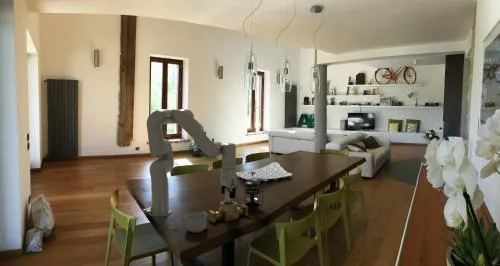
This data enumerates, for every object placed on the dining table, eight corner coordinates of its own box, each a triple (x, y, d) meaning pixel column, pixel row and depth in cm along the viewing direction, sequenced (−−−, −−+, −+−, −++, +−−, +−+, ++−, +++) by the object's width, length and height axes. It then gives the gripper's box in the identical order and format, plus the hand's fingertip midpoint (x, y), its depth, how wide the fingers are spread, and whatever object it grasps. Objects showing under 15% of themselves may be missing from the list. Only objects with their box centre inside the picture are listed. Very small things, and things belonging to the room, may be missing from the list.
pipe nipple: (227, 210, 183) (226, 189, 182) (223, 208, 187) (223, 187, 186) (233, 209, 186) (233, 188, 184) (230, 207, 189) (229, 186, 188)
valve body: (214, 223, 177) (214, 208, 176) (207, 219, 184) (207, 204, 183) (249, 216, 189) (249, 201, 189) (241, 212, 196) (241, 198, 195)
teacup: (194, 236, 160) (194, 220, 160) (180, 230, 168) (180, 215, 167) (215, 228, 171) (215, 213, 170) (202, 223, 178) (202, 208, 177)
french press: (242, 212, 196) (242, 173, 194) (244, 207, 206) (244, 170, 203) (262, 212, 195) (262, 174, 193) (263, 207, 205) (263, 170, 202)
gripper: (215, 163, 189) (215, 193, 191) (230, 169, 175) (230, 200, 176) (226, 162, 193) (226, 191, 195) (242, 167, 179) (242, 198, 180)
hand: (228, 195), depth 186 cm, fingers open, 9 cm apart
